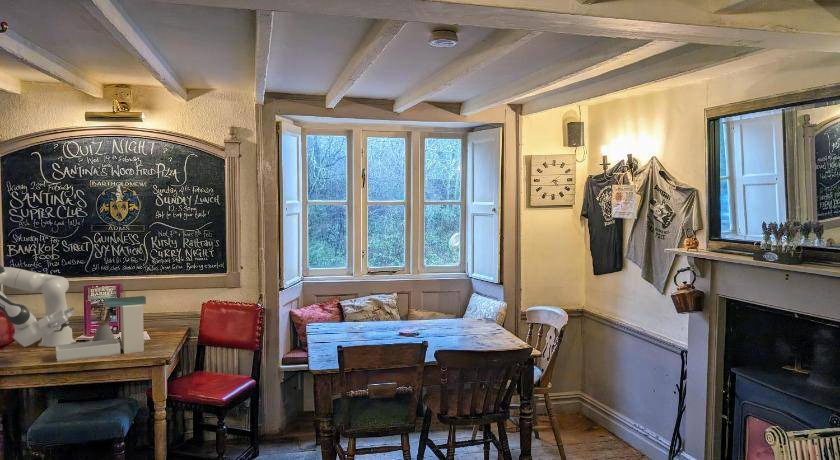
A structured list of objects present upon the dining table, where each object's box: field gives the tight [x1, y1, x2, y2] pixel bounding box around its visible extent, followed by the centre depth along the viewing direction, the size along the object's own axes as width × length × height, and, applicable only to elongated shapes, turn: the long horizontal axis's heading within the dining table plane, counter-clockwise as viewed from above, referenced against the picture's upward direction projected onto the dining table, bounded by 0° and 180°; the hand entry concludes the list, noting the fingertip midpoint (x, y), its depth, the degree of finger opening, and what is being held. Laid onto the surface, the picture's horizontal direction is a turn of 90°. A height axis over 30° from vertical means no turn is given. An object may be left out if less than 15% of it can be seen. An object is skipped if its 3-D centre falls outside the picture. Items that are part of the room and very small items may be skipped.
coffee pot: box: [92, 312, 116, 341], centre depth 365 cm, size 21×12×15 cm, turn 12°
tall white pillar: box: [119, 304, 145, 354], centre depth 345 cm, size 12×10×26 cm
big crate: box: [55, 338, 121, 363], centre depth 333 cm, size 13×30×6 cm, turn 123°
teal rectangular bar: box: [104, 295, 147, 308], centre depth 342 cm, size 4×20×4 cm, turn 123°
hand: (73, 309), depth 328 cm, fingers open, 8 cm apart
